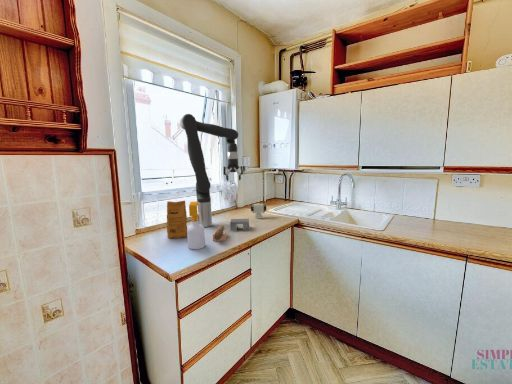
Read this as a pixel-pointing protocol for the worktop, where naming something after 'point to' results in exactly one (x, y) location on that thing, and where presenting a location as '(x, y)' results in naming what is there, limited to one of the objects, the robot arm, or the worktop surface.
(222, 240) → the v block
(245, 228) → the grey rectangular block
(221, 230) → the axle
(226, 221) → the worktop surface
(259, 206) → the pneumatic valve
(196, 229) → the soap bottle
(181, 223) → the coffee package
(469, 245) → the worktop surface
